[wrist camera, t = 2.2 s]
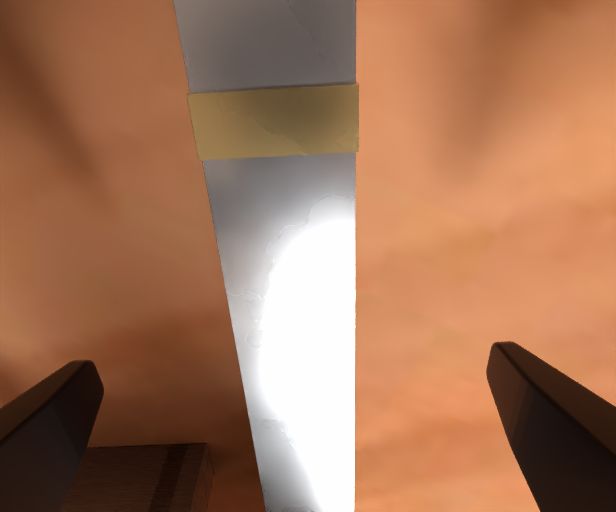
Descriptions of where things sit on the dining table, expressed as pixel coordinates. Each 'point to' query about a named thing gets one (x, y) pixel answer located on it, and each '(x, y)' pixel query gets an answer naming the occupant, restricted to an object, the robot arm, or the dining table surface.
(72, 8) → the dining table surface
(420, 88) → the dining table surface
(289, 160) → the grey metal bar
